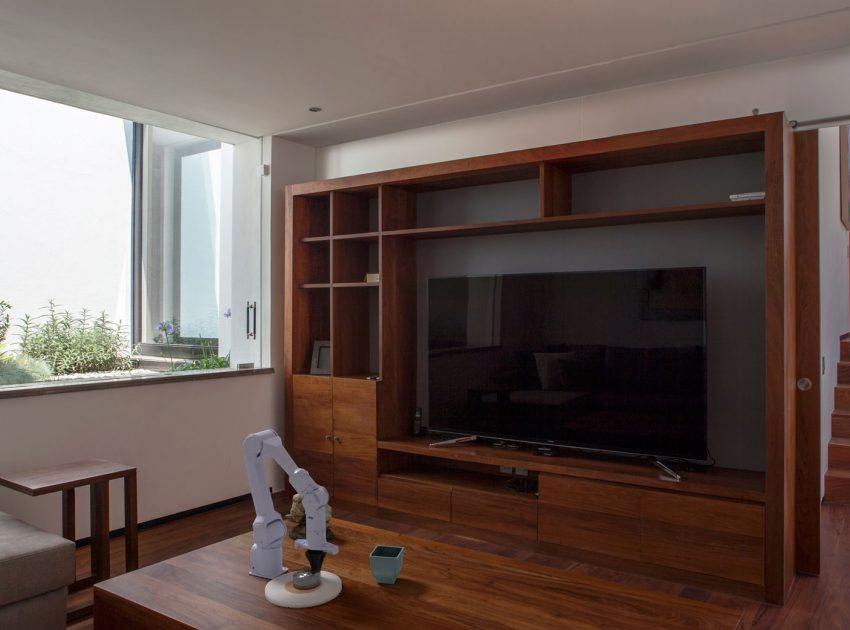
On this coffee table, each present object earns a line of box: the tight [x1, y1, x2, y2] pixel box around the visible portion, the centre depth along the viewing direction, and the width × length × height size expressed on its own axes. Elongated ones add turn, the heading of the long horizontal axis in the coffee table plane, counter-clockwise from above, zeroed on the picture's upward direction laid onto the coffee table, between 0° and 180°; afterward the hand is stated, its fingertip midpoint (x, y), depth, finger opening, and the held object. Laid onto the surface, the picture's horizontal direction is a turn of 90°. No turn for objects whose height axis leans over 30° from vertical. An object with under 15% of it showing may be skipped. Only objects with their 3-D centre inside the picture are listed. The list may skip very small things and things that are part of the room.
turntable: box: [264, 570, 343, 609], centre depth 194 cm, size 22×22×2 cm
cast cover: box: [293, 568, 321, 590], centre depth 194 cm, size 8×8×3 cm
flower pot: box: [369, 544, 405, 585], centre depth 200 cm, size 9×9×9 cm
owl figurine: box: [285, 493, 335, 541], centre depth 239 cm, size 18×12×17 cm, turn 78°
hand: (316, 573), depth 199 cm, fingers closed
